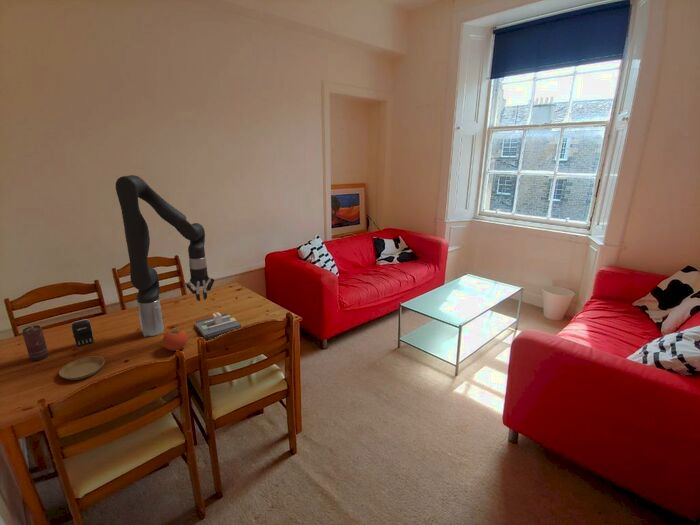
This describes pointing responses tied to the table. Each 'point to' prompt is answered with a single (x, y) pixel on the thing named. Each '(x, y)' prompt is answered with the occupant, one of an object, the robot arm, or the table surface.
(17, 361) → the table surface
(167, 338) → the tomato
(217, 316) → the breaker lever
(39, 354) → the can
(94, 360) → the plant saucer
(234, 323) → the panel
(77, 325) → the battery charger
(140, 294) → the robot arm
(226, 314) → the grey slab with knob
